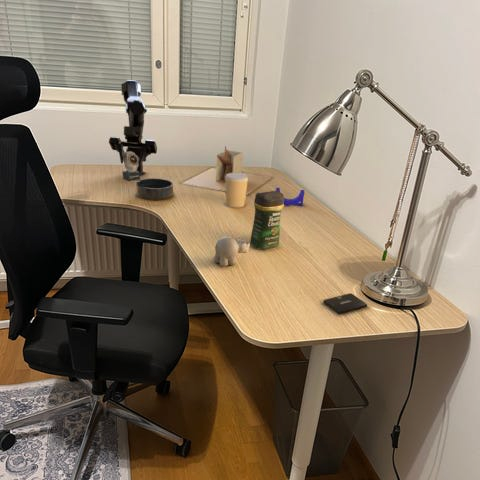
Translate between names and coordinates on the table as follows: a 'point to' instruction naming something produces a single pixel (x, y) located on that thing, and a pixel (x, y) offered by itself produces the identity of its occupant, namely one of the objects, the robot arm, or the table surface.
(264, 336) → the table surface
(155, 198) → the bowl
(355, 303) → the solid state drive
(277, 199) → the coffee jar
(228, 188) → the coffee cup
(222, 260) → the chubby cartoon animal
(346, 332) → the table surface
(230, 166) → the bookend
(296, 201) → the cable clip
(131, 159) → the watch
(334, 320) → the table surface
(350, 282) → the table surface
